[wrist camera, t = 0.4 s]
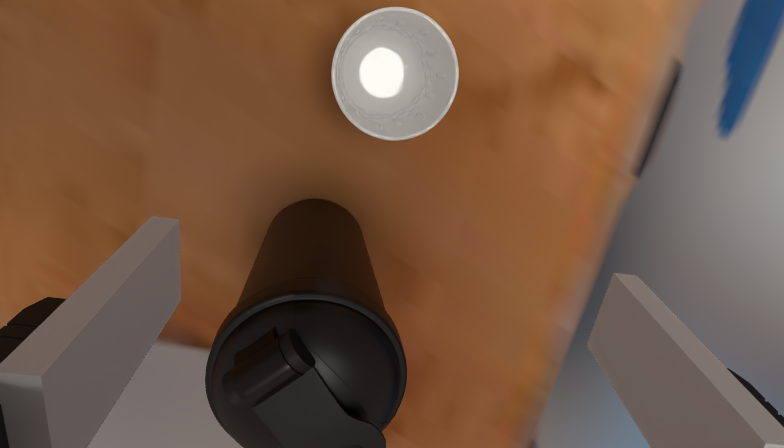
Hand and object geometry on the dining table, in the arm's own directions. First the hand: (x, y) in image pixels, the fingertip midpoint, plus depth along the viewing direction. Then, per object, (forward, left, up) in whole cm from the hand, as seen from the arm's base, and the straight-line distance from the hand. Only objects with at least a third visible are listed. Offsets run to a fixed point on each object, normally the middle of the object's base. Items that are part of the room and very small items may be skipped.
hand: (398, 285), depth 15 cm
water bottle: (+9, -4, -28) cm, 30 cm away
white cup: (-5, +3, -28) cm, 29 cm away
